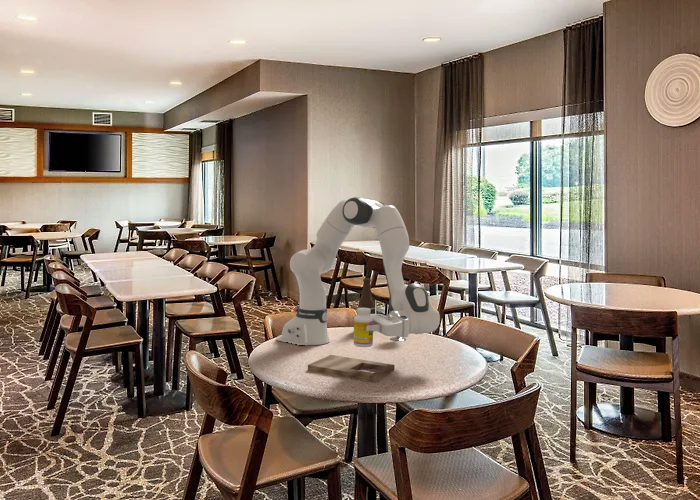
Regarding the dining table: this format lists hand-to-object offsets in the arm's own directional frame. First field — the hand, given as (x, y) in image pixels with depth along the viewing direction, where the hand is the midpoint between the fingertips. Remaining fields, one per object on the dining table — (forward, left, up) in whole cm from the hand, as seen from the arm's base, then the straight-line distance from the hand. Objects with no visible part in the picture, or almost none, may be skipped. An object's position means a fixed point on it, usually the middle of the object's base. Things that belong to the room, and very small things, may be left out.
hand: (361, 325), depth 209 cm
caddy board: (-4, +1, -17) cm, 17 cm away
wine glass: (-9, +53, -17) cm, 56 cm away
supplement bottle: (+1, +1, -7) cm, 7 cm away
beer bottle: (-28, +60, -17) cm, 68 cm away
